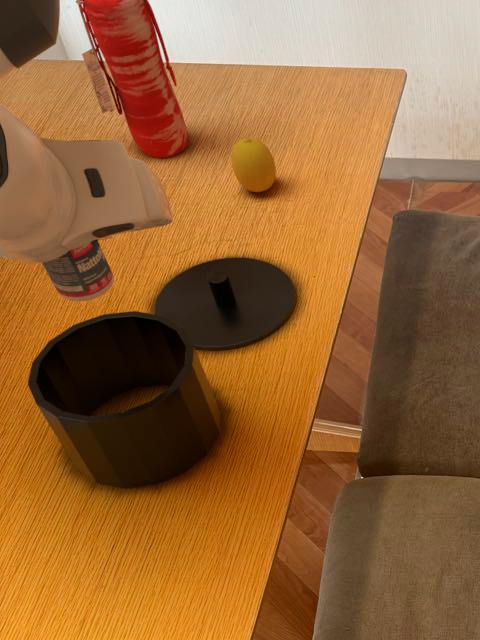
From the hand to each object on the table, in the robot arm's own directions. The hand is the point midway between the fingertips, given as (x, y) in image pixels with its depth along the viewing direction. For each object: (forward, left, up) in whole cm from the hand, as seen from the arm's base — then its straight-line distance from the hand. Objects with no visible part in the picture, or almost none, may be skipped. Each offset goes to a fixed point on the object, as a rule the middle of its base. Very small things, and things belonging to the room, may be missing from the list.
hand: (65, 237), depth 82 cm
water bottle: (-2, +52, -22) cm, 57 cm away
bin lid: (+9, +15, -21) cm, 27 cm away
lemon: (+13, +39, -22) cm, 47 cm away
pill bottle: (0, -1, -5) cm, 5 cm away
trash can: (+1, -5, -22) cm, 22 cm away
